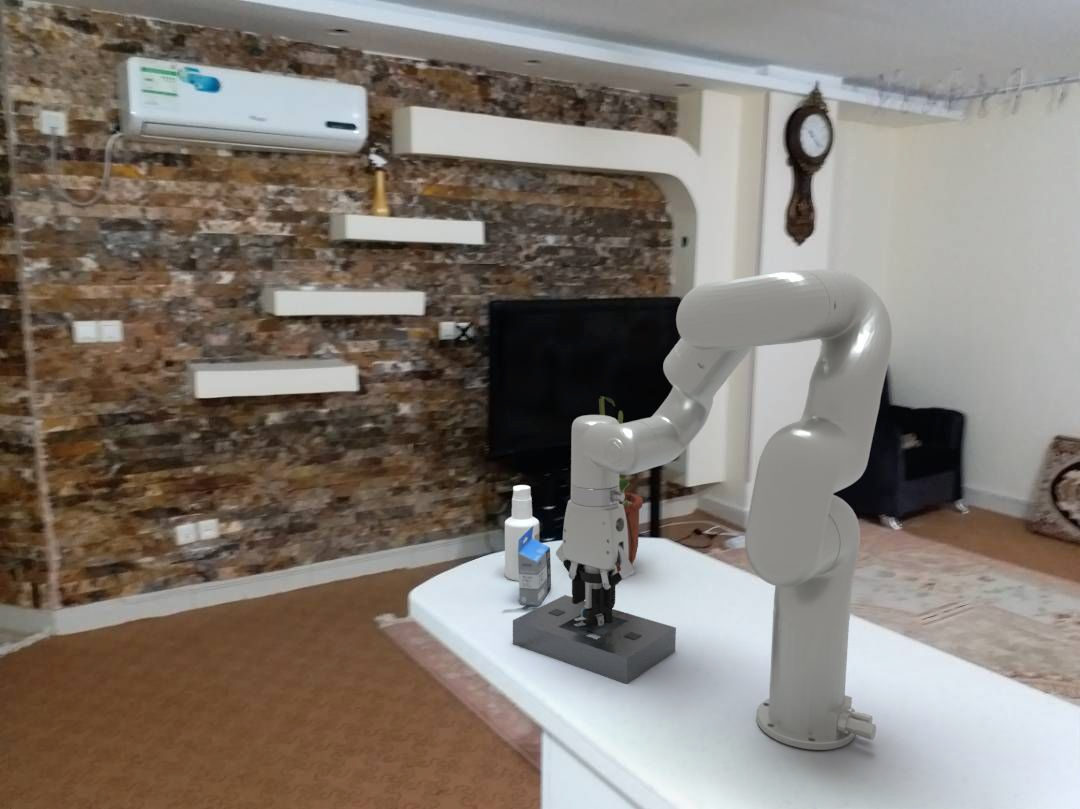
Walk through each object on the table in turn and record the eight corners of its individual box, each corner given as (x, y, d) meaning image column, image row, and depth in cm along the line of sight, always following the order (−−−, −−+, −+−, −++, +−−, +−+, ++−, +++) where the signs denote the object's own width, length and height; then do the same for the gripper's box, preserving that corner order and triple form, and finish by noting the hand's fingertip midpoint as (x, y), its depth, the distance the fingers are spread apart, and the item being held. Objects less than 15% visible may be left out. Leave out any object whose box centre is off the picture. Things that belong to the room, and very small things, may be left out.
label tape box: (539, 606, 157) (539, 541, 155) (517, 604, 158) (517, 539, 156) (551, 589, 165) (551, 527, 163) (531, 587, 166) (531, 525, 164)
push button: (584, 634, 136) (584, 572, 134) (565, 623, 140) (565, 563, 139) (619, 625, 139) (619, 565, 138) (599, 614, 144) (599, 555, 142)
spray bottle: (546, 575, 173) (546, 486, 170) (522, 584, 168) (522, 493, 165) (521, 567, 177) (521, 481, 174) (497, 575, 172) (497, 487, 169)
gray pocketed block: (675, 651, 139) (675, 626, 138) (626, 683, 128) (627, 657, 127) (565, 616, 152) (565, 594, 152) (512, 643, 142) (512, 619, 141)
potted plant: (562, 569, 176) (563, 398, 170) (614, 552, 186) (617, 390, 181) (627, 593, 163) (630, 409, 158) (679, 573, 174) (684, 400, 168)
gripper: (654, 499, 134) (651, 611, 137) (566, 481, 144) (565, 586, 147) (627, 509, 128) (624, 627, 131) (537, 490, 138) (537, 599, 141)
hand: (593, 604), depth 139 cm, fingers closed on push button, 4 cm apart
